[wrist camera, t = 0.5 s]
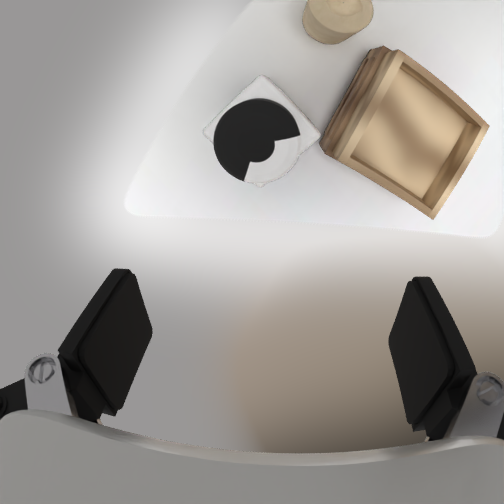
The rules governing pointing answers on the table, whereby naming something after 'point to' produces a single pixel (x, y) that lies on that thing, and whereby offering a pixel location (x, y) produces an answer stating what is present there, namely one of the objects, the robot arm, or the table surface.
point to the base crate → (351, 99)
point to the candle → (336, 19)
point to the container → (260, 133)
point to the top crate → (411, 134)
